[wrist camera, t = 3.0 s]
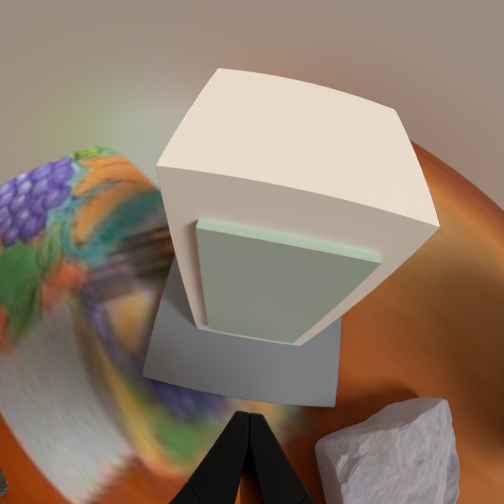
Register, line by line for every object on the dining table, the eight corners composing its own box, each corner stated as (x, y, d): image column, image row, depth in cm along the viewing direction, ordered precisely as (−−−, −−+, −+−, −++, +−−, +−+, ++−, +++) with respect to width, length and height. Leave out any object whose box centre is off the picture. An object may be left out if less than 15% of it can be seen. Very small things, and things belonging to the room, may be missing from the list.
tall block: (299, 350, 15) (442, 236, 5) (196, 332, 15) (150, 174, 5) (306, 270, 18) (395, 110, 8) (214, 253, 18) (218, 68, 7)
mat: (329, 407, 14) (334, 406, 14) (145, 377, 14) (141, 375, 13) (332, 155, 25) (335, 149, 25) (221, 133, 25) (222, 127, 25)
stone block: (406, 388, 17) (295, 439, 13) (456, 376, 13) (344, 448, 9) (423, 502, 12) (325, 565, 8) (467, 505, 8) (366, 589, 4)
